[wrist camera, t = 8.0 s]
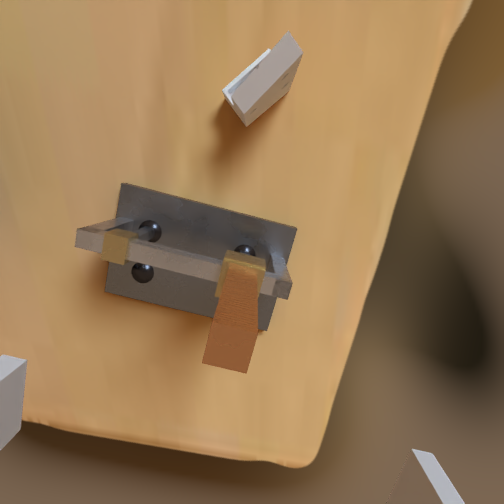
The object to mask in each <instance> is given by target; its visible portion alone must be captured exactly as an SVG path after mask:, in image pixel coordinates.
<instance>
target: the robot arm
mask: <svg viewBox="0 0 504 504" xmlns="http://www.w3.org/2000/svg"><path fill="white" fill-rule="evenodd" d="M26 367H27V360H25V359H21V358H16V357H12V356H8V355H2V356H1V357H0V450H1V449H2V448H3V447H4V446H5V445H6V444H7V443H8V442H9V441H10V440H11V439H12V438H13V437H14V436H15V434H16V433H17V432H18V431H19V430H20V429H21V418H22V408H23V398H24V388H25V378H26ZM386 504H465V503H464V502H463V500H462V498H461V497H460V496H459V494H458V492H457V491H456V489H455V488H454V486H453V485H452V483H451V481H450V480H449V478H448V477H447V475H446V474H445V472H444V471H443V469H442V468H441V466H440V464H439V463H438V461H437V460H436V458H435V457H434V455H433V454H432V453H428V452H424V451H420V450H415V449H411V451H410V453H409V455H408V457H407V459H406V461H405V464H404V466H403V468H402V470H401V472H400V474H399V477H398V479H397V481H396V483H395V485H394V487H393V489H392V492H391V494H390V496H389V498H388V500H387V502H386Z"/></svg>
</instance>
